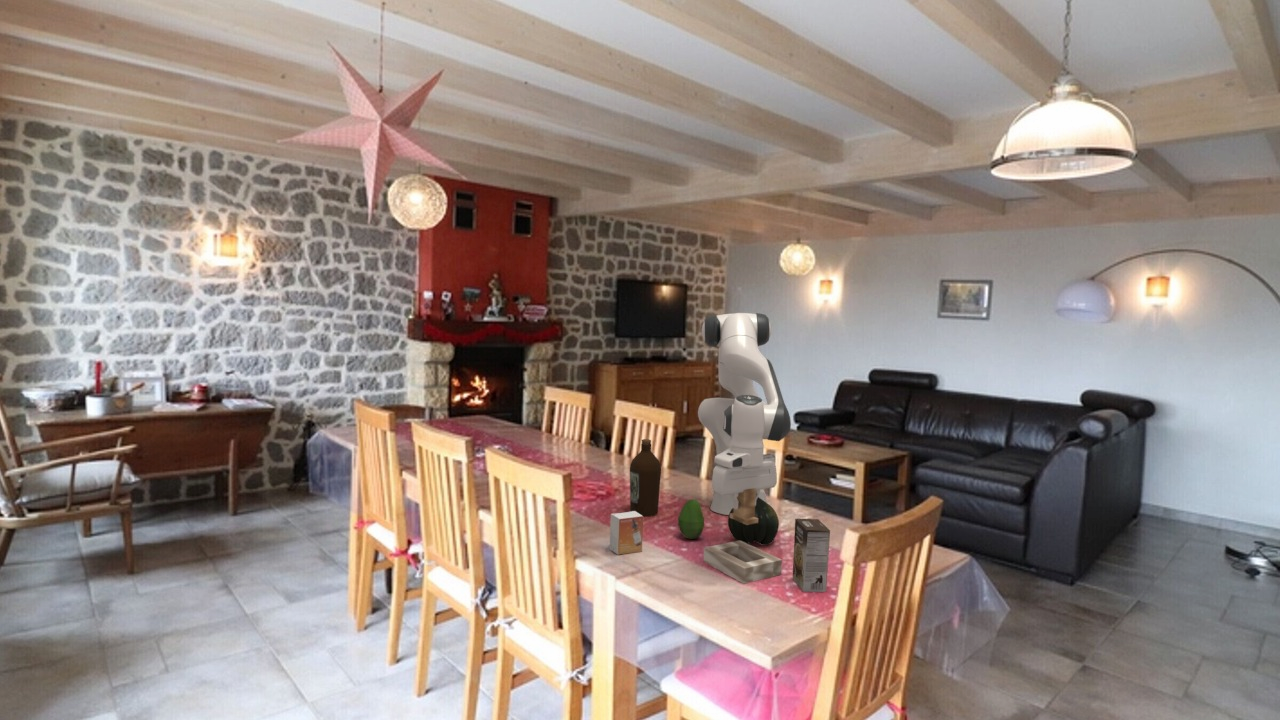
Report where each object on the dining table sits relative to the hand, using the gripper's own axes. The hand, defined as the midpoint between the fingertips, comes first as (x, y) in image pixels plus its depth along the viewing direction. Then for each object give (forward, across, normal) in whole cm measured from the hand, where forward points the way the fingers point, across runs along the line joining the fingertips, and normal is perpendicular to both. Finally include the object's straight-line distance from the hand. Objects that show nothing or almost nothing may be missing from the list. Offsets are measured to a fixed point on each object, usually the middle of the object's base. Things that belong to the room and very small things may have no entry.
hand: (744, 507), depth 186 cm
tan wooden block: (+4, 0, 0) cm, 4 cm away
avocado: (+17, -2, -26) cm, 31 cm away
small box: (+17, +21, -26) cm, 38 cm away
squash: (+17, -17, -15) cm, 28 cm away
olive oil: (+17, -3, -54) cm, 57 cm away
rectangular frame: (+17, 0, 0) cm, 17 cm away
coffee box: (+17, -8, +17) cm, 25 cm away
